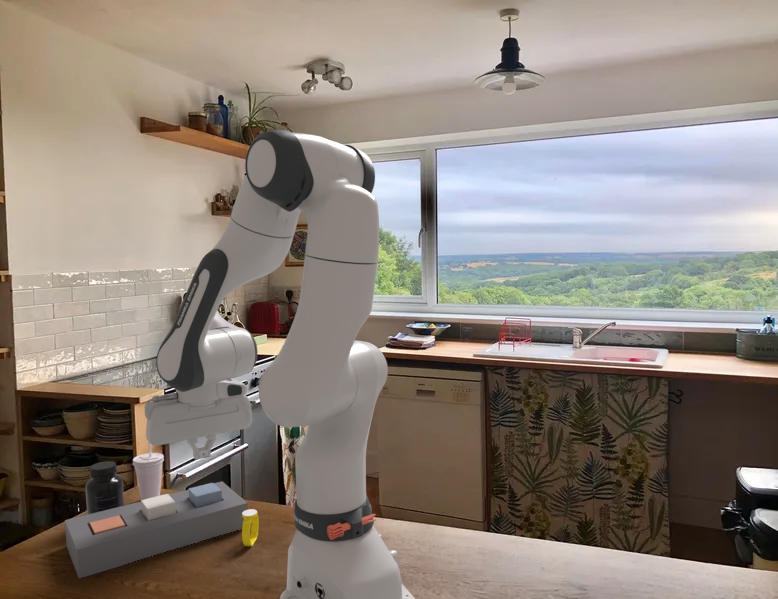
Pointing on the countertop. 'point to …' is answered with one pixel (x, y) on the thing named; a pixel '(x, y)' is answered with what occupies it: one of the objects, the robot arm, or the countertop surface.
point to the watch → (249, 519)
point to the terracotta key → (106, 525)
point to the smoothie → (149, 473)
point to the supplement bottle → (104, 488)
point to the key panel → (149, 531)
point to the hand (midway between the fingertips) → (202, 457)
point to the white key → (158, 507)
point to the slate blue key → (204, 495)
